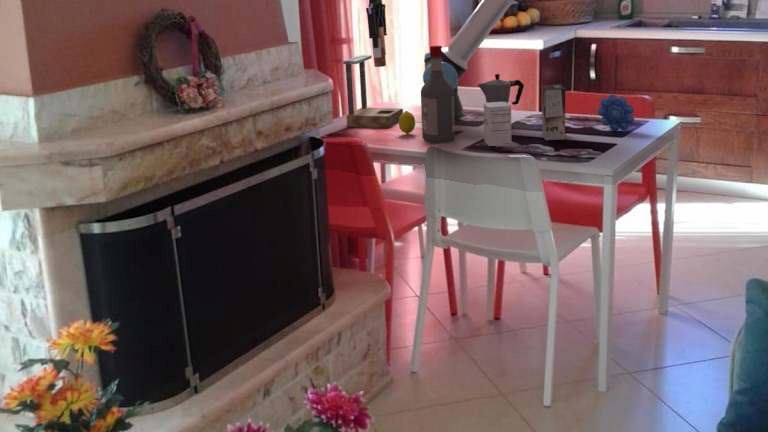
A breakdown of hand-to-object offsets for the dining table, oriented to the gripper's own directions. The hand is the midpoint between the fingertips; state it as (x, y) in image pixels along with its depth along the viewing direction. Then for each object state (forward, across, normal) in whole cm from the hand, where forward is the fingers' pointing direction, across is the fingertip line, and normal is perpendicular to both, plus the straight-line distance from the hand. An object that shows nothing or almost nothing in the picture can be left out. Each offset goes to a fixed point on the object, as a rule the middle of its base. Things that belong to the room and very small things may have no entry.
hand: (379, 56), depth 307 cm
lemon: (+25, +14, +12) cm, 31 cm away
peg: (+3, 0, 0) cm, 3 cm away
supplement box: (+25, +24, +45) cm, 57 cm away
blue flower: (+27, +3, +79) cm, 83 cm away
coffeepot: (+26, -1, +41) cm, 49 cm away
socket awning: (+24, -3, -4) cm, 24 cm away
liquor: (+25, +21, +25) cm, 41 cm away
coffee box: (+26, +12, +61) cm, 67 cm away
